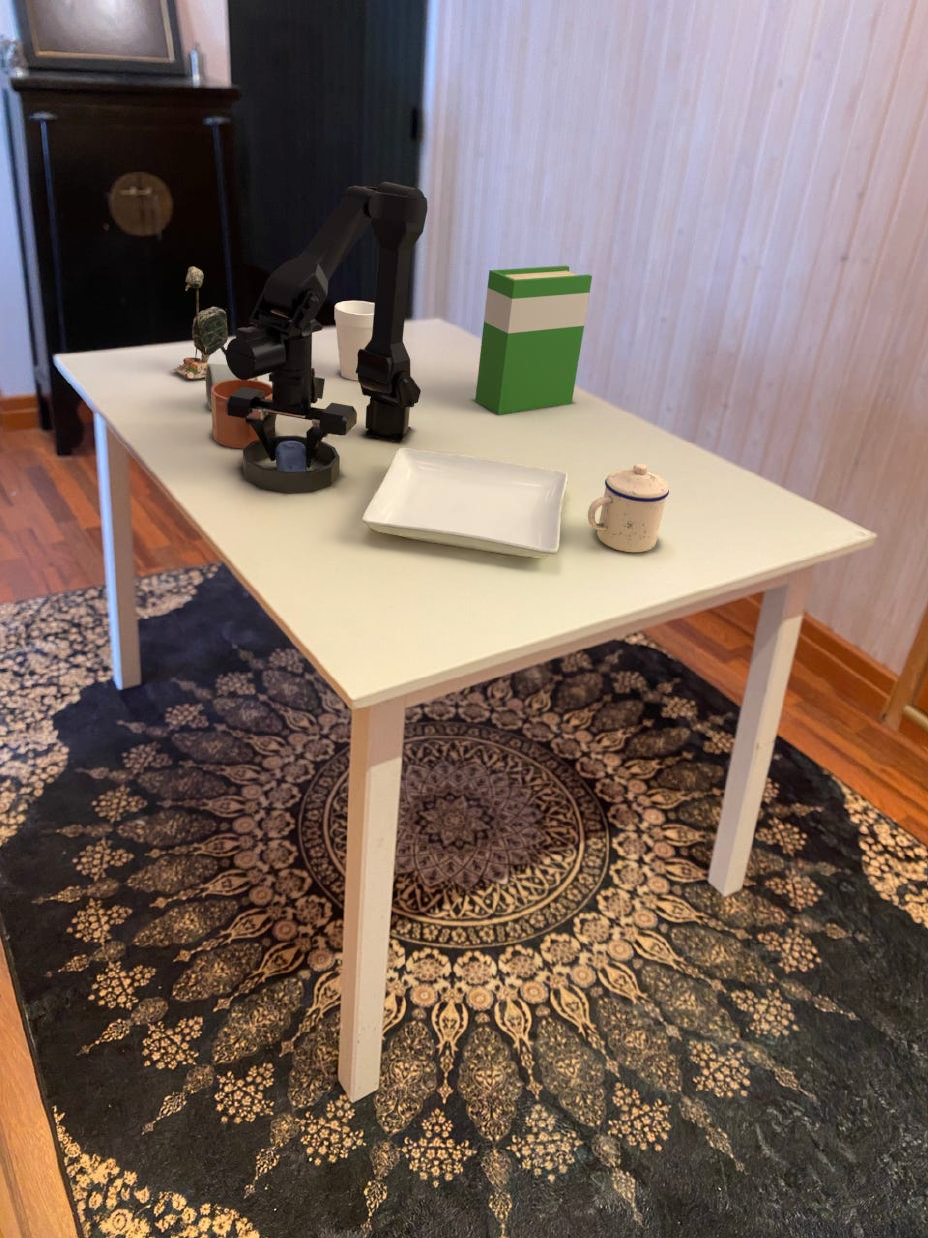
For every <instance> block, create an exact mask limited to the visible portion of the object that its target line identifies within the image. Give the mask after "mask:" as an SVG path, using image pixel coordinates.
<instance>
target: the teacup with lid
mask: <svg viewBox="0 0 928 1238" xmlns="http://www.w3.org/2000/svg"><path fill="white" fill-rule="evenodd" d="M604 485H605V488H604V493H603V494H604V495H603V496H601V497H598V498H597V499H595V500H594V501H592V502H591V504H590V505H589V507H588V510H587V520H588V523H589V525H590V526H591V527H592V528H593V529H595V530H597V532H596V533H597V534H596V535H597V537H598V538H599V540H600V541H601V542H602V543H603V544H604V545H606V546H607V547H609V548H611V549H614V550H617V551H621V552H626V553H643V552H648V551H650V550H651V549H653V548H654V547H655V546H656V544H657V541H658V537H659V532H660V531H659V530H660V527H661V522H662V518H663V513H664V508H665V504H666V500H667V497H668V496H669V495H670V494H669V493H670V489H669V484H668V483H667V481H665V479H663V478H662V477H661V476H659V475H657V474H654V473H653V472H650V471H649V467H648V465H647V464H645V463H635V464H634V465H633V467H632V468H624V469H617V470H614V471H611V472H610V473H609V474H608V475H607V477H606V478H605V479H604ZM600 507H601V510H600V515H599V520H598V523H597V522H596V513H597V511H598V509H599V508H600Z"/></svg>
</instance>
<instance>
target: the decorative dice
mask: <svg viewBox="0 0 928 1238" xmlns="http://www.w3.org/2000/svg"><path fill="white" fill-rule="evenodd" d="M275 465H276V469H277V470H279V471H284V472H296V471H307V469H308V468H307V465H306V448H305V446H304V445H303V444H302V443H300V442H296V441H285V442H282V443H280V444H279V445H278V446H277V447H276V449H275Z"/></svg>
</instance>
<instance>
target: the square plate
mask: <svg viewBox="0 0 928 1238" xmlns="http://www.w3.org/2000/svg"><path fill="white" fill-rule="evenodd" d="M568 479H569V475H568V473H567V472H565V471H563V470H557V469H550V468H545V467H544V468H543V467H539V466H533V465H526V464H521V463H516V462H512V461H511V462H510V461H506V460H505V461H504V460H498V459H490V458H486V457H485V458H484V457H478V456H473V455H472V456H471V455H465V454H458V453H451V452H449V453H448V452H442V451H434V450H425V449H419V448H411V447H399V448H398V449H397V450H396V452H395V453H394V455H393V458H392V459H391V462H390V464H389V467H388V468H387V471H386V473H385V475H384V477H383V479H382V480H381V483H380V484H379V486H378V488H377V489H376V492H375V493H374V494H373V497H372V498H371V500H370V502H369V504H368V505H367V507H366V509H365V511H364V513H363V515H362V517H361V522H363V523H364V524H365V525H366V526H367V527H368V528H370V529H372V530H373V531H376V532H379V533H383V534H387V535H393V536H399V537H404V538H406V539H409V540H414V541H419V542H424V543H432V544H438V545H444V546H451V547H457V548H465V549H469V550H476V551H482V552H487V553H494V554H499V555H505V556H519V557H526V558H533V559H546V558H549V557H552V556H553V555H556V554H557V553H558V552H559V548H560V541H561V538H560V536H561V525H562V524H561V523H562V513H563V512H562V511H563V504H564V499H565V494H566V490H567V485H568V481H569V480H568Z"/></svg>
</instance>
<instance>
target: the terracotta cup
mask: <svg viewBox="0 0 928 1238" xmlns="http://www.w3.org/2000/svg"><path fill="white" fill-rule="evenodd" d="M241 387H246V388H252V389H258V390H263V392H264V393H265V399H269V400H272V384H269V383H267V382H264V381H260V380H258V381H256V380H250V379H248V380H240V379H233V380H225V381H222V382H218V383H216V384H215V385H213V386H212V387H211V404H212V410H211V425H212V426H211V428H212V430H211V431H212V438H213V440H214V441H215V442H216V443H218V444H219V445H221V446H225V447H227V448H233V449H242V450H243V449H244V448H245V447H247V446H248V445H249V444H250V443H251V442H252V441H255V440H259V437H258V436H257V434H256V433H255V431H254V429H253V428H252V426H251V425H250V424H246V423H245V419H246V418H247V417H245V418H239V417H233V416H228V415H227V414H226V401H227V398H228V397H229V396H231V395H232V394H233V393H235V392H236V391H237V390H239V389H240V388H241Z"/></svg>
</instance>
